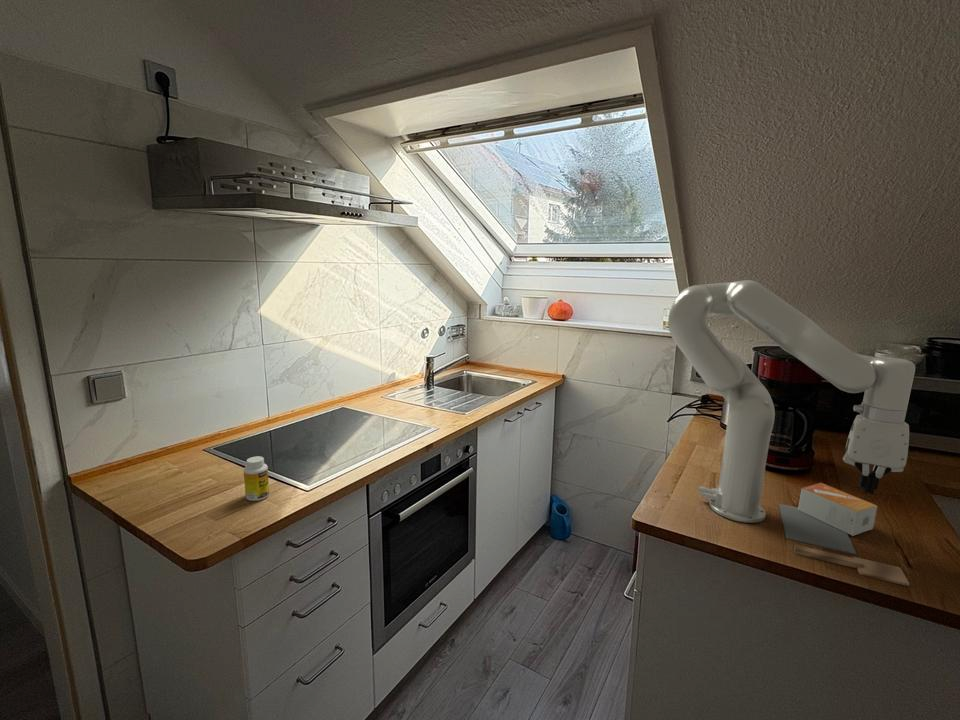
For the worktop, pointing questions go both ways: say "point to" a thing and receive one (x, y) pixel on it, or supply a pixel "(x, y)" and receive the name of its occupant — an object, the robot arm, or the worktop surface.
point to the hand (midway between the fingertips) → (866, 490)
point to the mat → (813, 530)
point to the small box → (837, 508)
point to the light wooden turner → (858, 565)
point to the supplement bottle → (256, 479)
